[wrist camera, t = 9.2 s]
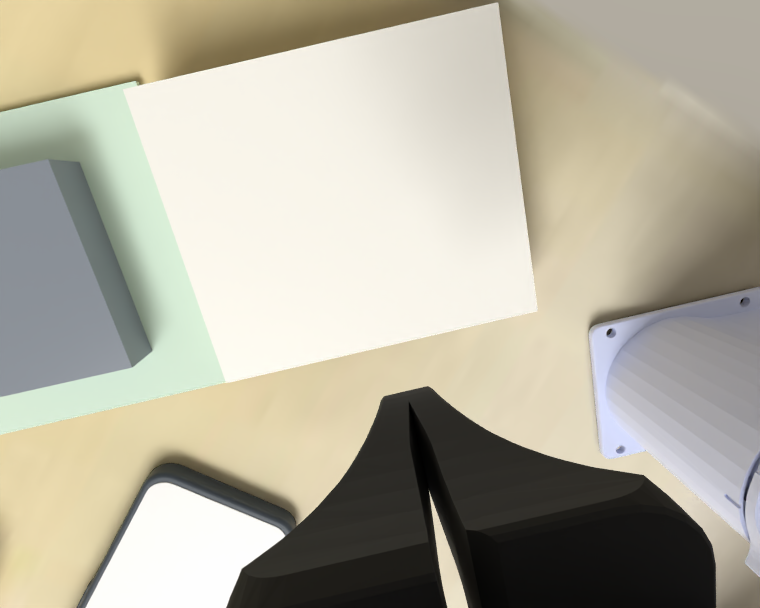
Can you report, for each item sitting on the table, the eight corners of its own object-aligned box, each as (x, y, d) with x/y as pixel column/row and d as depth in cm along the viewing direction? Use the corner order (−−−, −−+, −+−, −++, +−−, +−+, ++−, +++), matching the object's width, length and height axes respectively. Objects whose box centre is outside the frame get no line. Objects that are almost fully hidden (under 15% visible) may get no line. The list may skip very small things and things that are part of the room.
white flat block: (475, 31, 18) (497, 1, 16) (513, 294, 22) (537, 310, 19) (158, 104, 18) (122, 89, 16) (243, 357, 22) (226, 383, 19)
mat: (139, 82, 18) (135, 80, 18) (239, 377, 22) (238, 379, 22) (-228, 167, 18) (-237, 167, 18) (-65, 447, 22) (-71, 450, 22)
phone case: (162, 447, 23) (55, 653, 26) (149, 465, 22) (36, 681, 25) (307, 509, 25) (191, 697, 28) (304, 531, 24) (182, 726, 26)
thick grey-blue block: (-103, 192, 17) (-56, 192, 19) (0, 397, 19) (33, 378, 21) (47, 159, 17) (79, 161, 19) (132, 367, 19) (152, 351, 21)
